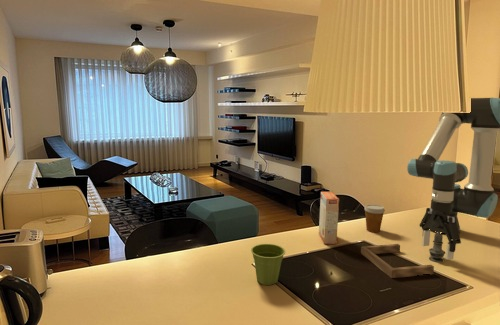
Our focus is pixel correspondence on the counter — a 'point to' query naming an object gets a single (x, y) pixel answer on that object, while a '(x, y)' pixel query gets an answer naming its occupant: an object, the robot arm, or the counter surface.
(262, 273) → the plant pot
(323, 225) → the cracker box
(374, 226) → the disposable coffee cup
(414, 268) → the brown u-shaped bracket
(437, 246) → the dark grey candlestick
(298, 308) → the counter surface
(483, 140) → the robot arm
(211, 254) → the counter surface
